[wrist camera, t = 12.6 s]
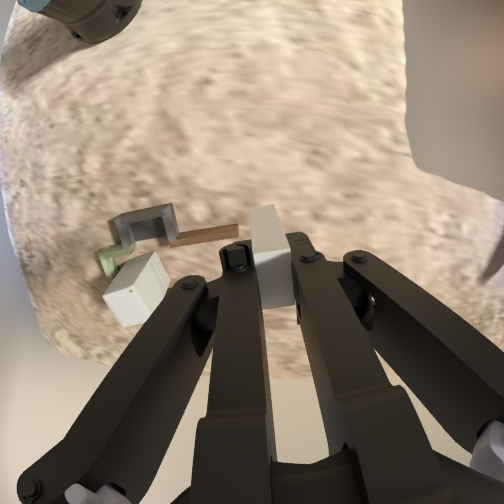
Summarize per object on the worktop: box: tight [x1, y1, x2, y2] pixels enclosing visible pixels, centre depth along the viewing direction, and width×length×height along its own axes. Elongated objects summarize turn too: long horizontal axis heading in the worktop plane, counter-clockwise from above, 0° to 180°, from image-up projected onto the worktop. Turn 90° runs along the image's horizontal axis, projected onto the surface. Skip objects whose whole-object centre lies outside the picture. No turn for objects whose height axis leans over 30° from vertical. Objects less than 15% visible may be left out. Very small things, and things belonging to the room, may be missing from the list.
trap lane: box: [98, 203, 239, 297], centre depth 51 cm, size 24×27×4 cm
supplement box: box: [102, 251, 171, 328], centre depth 47 cm, size 7×7×13 cm
